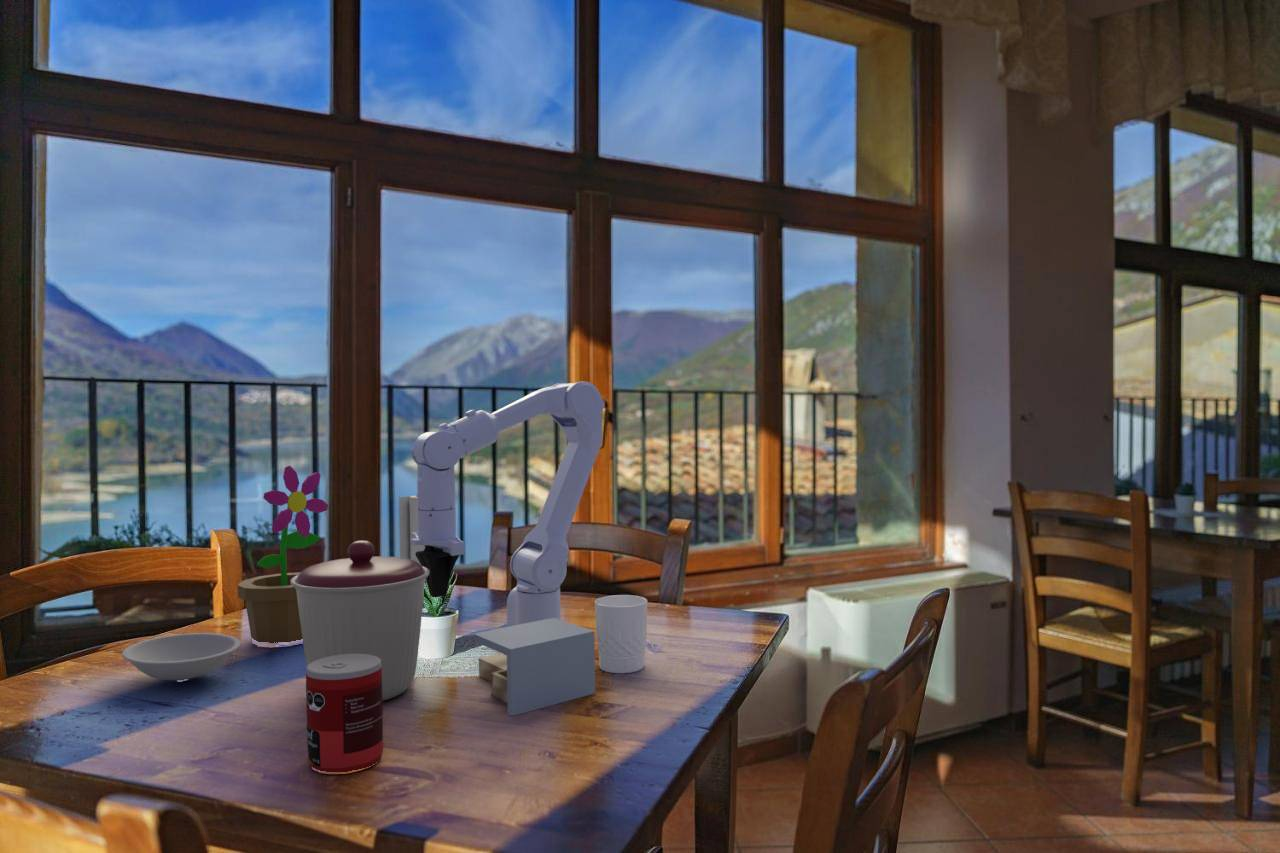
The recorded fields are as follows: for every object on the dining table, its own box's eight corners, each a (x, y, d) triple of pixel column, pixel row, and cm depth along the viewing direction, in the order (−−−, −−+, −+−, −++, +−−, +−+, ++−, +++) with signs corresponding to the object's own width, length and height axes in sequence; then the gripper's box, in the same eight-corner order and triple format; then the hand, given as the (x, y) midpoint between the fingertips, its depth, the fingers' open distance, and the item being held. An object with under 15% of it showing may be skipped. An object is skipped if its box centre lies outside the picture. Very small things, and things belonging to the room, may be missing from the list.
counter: (474, 695, 114) (473, 633, 114) (554, 675, 122) (553, 617, 122) (511, 716, 106) (510, 649, 106) (595, 693, 115) (594, 631, 114)
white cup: (642, 676, 122) (641, 607, 122) (589, 673, 123) (588, 605, 123) (652, 660, 129) (651, 595, 129) (602, 658, 131) (601, 594, 131)
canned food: (319, 749, 97) (317, 654, 97) (390, 746, 97) (388, 651, 97) (297, 778, 89) (295, 675, 89) (375, 774, 90) (373, 672, 90)
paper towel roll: (446, 594, 178) (444, 493, 177) (432, 601, 172) (430, 496, 171) (414, 593, 179) (413, 493, 179) (400, 599, 174) (398, 496, 173)
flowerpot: (274, 656, 134) (269, 468, 134) (220, 644, 142) (216, 466, 141) (347, 635, 146) (344, 462, 146) (295, 625, 154) (291, 461, 153)
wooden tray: (462, 679, 121) (461, 649, 121) (516, 666, 127) (516, 638, 127) (517, 708, 109) (517, 675, 109) (575, 693, 115) (574, 661, 115)
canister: (456, 679, 122) (453, 533, 121) (378, 724, 104) (375, 554, 104) (352, 668, 127) (349, 529, 127) (262, 709, 110) (258, 548, 110)
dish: (101, 683, 122) (100, 649, 122) (201, 658, 133) (201, 627, 133) (160, 707, 112) (159, 669, 111) (263, 678, 123) (262, 644, 123)
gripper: (393, 507, 134) (394, 592, 134) (433, 515, 123) (434, 607, 123) (434, 503, 139) (436, 585, 139) (476, 511, 127) (478, 600, 128)
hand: (438, 595), depth 131 cm, fingers closed
